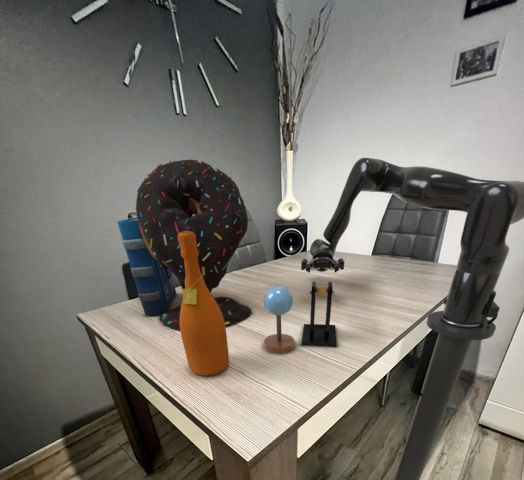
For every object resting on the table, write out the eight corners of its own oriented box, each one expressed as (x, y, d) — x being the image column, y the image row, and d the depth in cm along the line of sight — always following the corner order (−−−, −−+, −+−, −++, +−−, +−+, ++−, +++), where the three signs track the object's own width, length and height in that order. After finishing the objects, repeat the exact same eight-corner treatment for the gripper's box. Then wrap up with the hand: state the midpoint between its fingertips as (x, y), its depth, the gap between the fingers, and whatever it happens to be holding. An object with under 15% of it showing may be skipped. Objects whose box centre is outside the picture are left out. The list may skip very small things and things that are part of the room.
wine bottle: (183, 364, 67) (151, 232, 52) (218, 351, 71) (199, 226, 56) (199, 383, 60) (168, 237, 45) (237, 367, 64) (221, 230, 49)
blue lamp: (297, 340, 74) (298, 282, 66) (289, 355, 68) (289, 293, 60) (270, 337, 77) (267, 281, 69) (259, 351, 71) (255, 291, 62)
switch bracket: (304, 327, 81) (305, 278, 74) (335, 328, 80) (339, 278, 72) (301, 345, 72) (302, 291, 65) (336, 347, 70) (341, 291, 63)
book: (168, 315, 95) (144, 219, 80) (142, 317, 94) (113, 221, 79) (179, 294, 116) (162, 214, 101) (158, 295, 115) (138, 216, 100)
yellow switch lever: (311, 293, 82) (312, 285, 82) (330, 293, 81) (331, 285, 80) (310, 296, 69) (310, 286, 68) (332, 296, 68) (333, 286, 67)
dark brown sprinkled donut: (265, 320, 87) (256, 146, 65) (160, 339, 79) (107, 149, 57) (241, 293, 112) (229, 160, 90) (159, 305, 104) (123, 164, 82)
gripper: (303, 248, 101) (300, 257, 87) (343, 247, 98) (346, 256, 85) (303, 269, 105) (300, 281, 91) (341, 268, 102) (344, 280, 88)
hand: (322, 269), depth 88 cm, fingers open, 8 cm apart
